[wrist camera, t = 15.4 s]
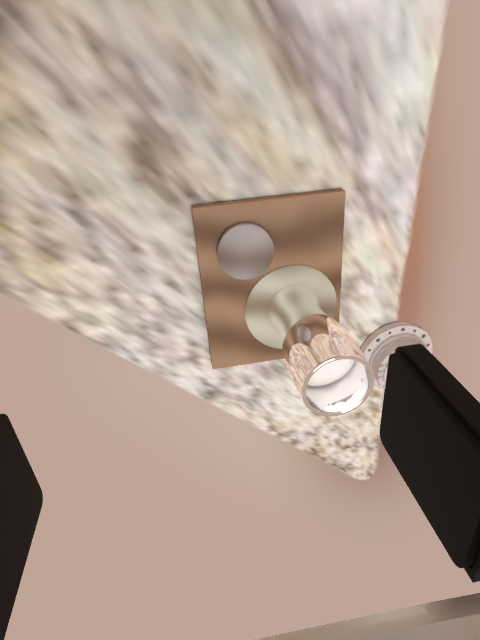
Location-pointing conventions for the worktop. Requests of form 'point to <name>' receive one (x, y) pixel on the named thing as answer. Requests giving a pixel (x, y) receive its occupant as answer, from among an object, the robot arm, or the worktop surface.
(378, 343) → the mechanical component
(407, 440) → the robot arm
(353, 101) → the worktop surface
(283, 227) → the carrier plate
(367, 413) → the worktop surface
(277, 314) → the beer glass
